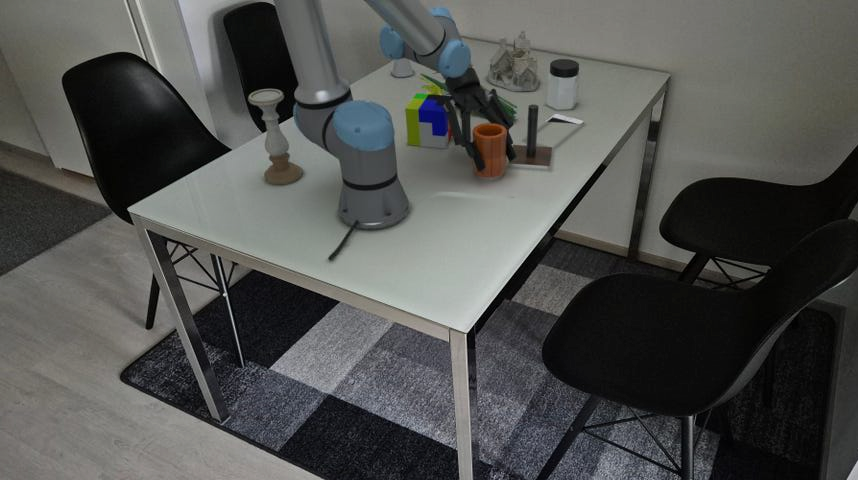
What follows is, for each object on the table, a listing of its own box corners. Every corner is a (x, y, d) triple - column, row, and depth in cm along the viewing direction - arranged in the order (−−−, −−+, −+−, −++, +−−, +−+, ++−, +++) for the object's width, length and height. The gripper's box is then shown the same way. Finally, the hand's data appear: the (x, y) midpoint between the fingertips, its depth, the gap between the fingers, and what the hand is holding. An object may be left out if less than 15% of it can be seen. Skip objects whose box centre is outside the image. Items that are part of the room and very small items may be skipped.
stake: (549, 170, 153) (553, 116, 144) (508, 167, 154) (510, 113, 145) (551, 151, 160) (555, 99, 152) (512, 148, 162) (514, 96, 153)
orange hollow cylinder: (503, 178, 145) (504, 139, 139) (471, 176, 146) (470, 136, 140) (507, 162, 151) (508, 124, 145) (476, 160, 152) (475, 122, 145)
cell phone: (584, 123, 173) (584, 120, 172) (553, 149, 161) (553, 145, 160) (555, 116, 177) (555, 113, 176) (523, 140, 165) (523, 137, 164)
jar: (570, 112, 179) (574, 71, 172) (543, 107, 182) (546, 67, 174) (579, 100, 186) (583, 60, 178) (553, 96, 188) (555, 56, 181)
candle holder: (263, 170, 153) (243, 90, 140) (299, 164, 155) (283, 85, 143) (266, 188, 146) (246, 105, 134) (304, 181, 149) (288, 99, 136)
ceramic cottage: (487, 71, 204) (489, 25, 194) (537, 74, 203) (542, 28, 193) (485, 93, 192) (487, 45, 182) (539, 96, 192) (544, 48, 182)
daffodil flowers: (486, 141, 167) (391, 78, 177) (506, 148, 180) (417, 88, 191) (519, 84, 162) (420, 22, 173) (537, 95, 175) (444, 37, 186)
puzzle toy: (445, 148, 162) (444, 111, 156) (408, 144, 164) (405, 108, 157) (454, 131, 170) (453, 96, 163) (418, 128, 171) (416, 93, 165)
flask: (389, 71, 205) (386, 40, 199) (411, 68, 207) (409, 37, 201) (393, 79, 200) (391, 47, 193) (416, 76, 201) (414, 44, 195)
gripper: (489, 72, 153) (526, 158, 152) (414, 91, 144) (453, 182, 143) (502, 57, 146) (541, 146, 145) (424, 76, 137) (465, 171, 136)
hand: (497, 164), depth 144 cm, fingers closed on orange hollow cylinder, 8 cm apart
